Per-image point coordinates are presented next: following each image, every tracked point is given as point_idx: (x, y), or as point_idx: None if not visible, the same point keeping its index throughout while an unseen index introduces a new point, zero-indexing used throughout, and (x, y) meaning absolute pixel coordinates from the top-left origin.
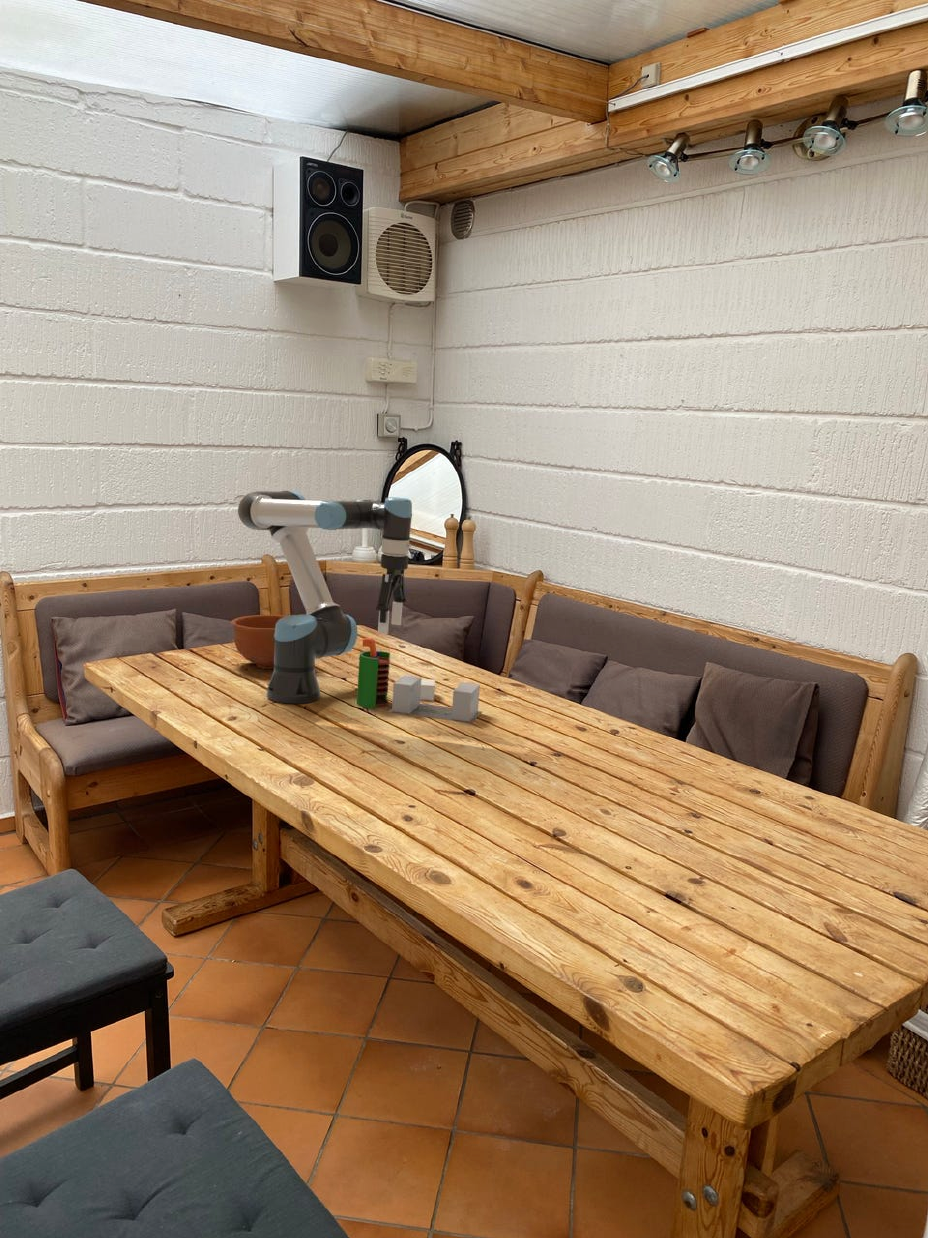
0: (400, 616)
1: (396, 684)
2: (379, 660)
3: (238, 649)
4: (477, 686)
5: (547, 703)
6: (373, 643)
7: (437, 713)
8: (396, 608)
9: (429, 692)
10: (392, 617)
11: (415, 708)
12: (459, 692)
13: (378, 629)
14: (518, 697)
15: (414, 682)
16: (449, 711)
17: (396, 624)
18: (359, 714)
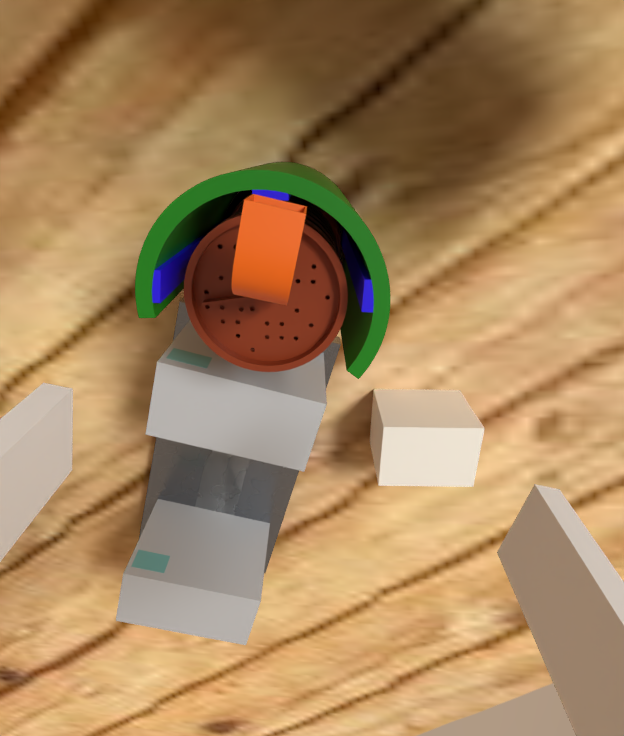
0: (532, 629)
1: (156, 373)
2: (295, 305)
3: None
4: (213, 638)
5: (430, 693)
6: (245, 295)
7: (208, 462)
8: (609, 687)
9: (376, 453)
10: (565, 545)
11: None
12: (121, 587)
13: (18, 410)
14: (486, 645)
15: (201, 446)
16: (242, 494)
17: (513, 528)
18: (190, 184)
